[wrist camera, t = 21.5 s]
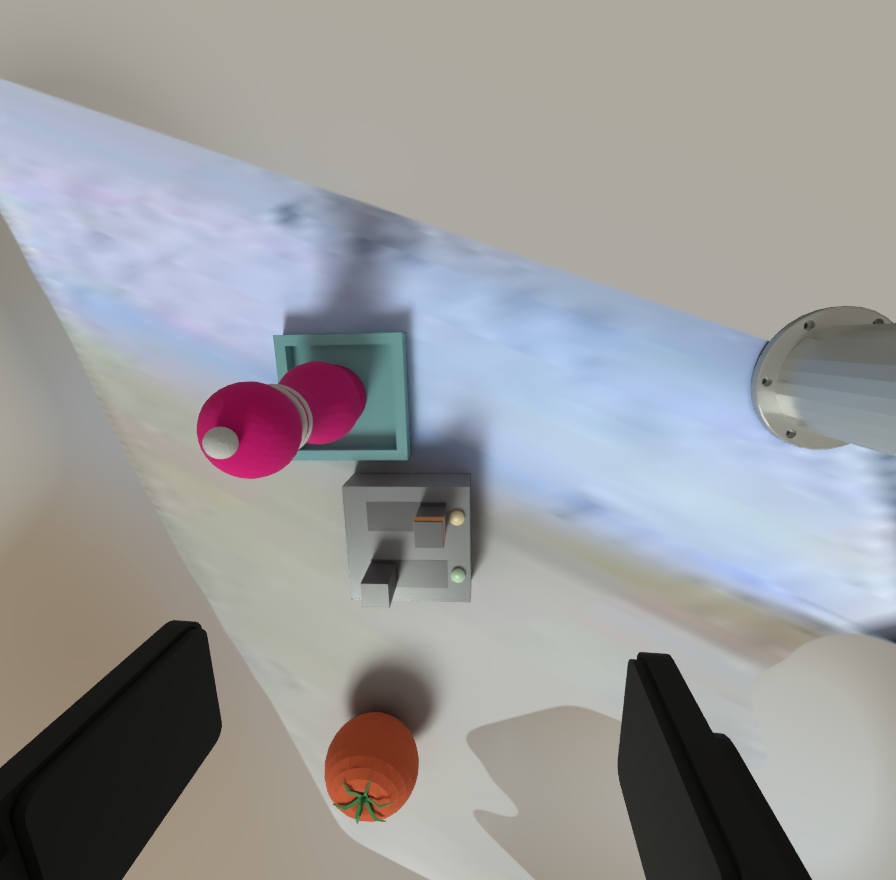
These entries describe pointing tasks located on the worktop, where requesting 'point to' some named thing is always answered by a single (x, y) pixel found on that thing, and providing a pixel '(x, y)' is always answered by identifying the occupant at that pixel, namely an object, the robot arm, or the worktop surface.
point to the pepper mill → (278, 418)
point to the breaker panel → (409, 533)
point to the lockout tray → (385, 386)
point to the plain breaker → (379, 585)
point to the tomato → (371, 767)
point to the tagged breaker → (430, 527)
